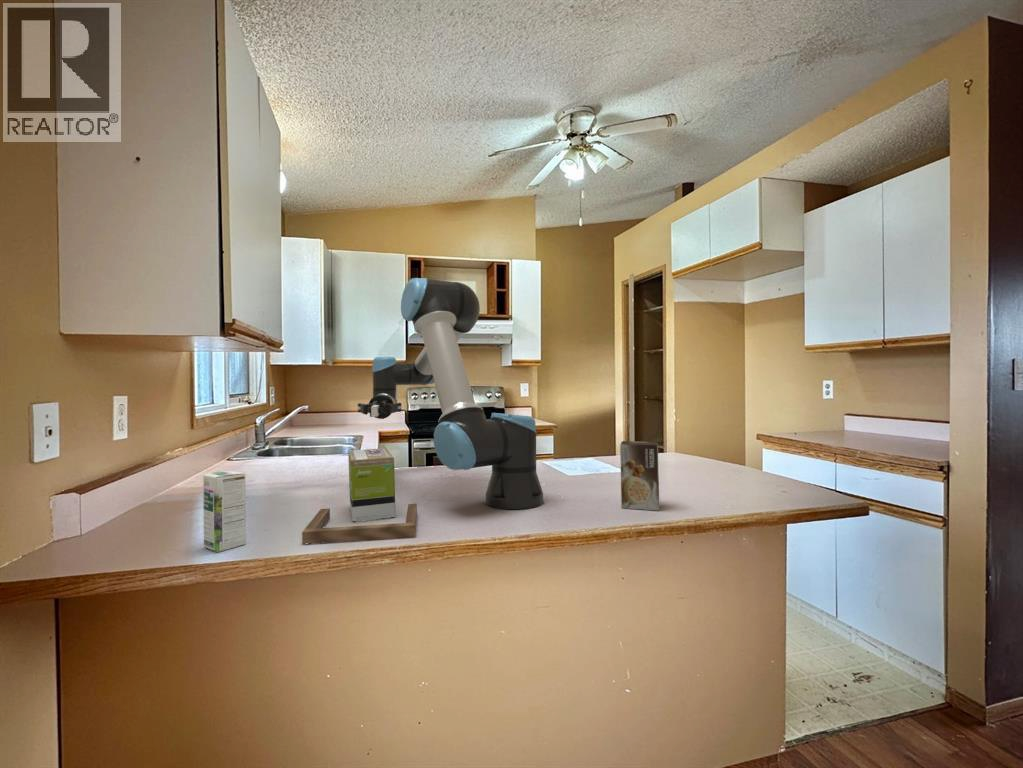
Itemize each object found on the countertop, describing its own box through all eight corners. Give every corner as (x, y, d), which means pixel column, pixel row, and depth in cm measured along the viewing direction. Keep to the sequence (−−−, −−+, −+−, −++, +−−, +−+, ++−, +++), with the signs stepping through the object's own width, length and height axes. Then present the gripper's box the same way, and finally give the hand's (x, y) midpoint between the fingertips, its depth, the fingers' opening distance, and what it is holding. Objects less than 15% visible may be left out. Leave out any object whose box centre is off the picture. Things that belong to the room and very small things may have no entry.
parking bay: (416, 514, 119) (416, 503, 119) (415, 537, 101) (415, 525, 101) (320, 519, 115) (320, 508, 115) (302, 544, 98) (302, 532, 98)
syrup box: (202, 547, 97) (200, 474, 97) (233, 539, 102) (231, 469, 101) (217, 553, 94) (215, 477, 93) (248, 544, 99) (246, 471, 98)
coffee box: (660, 504, 125) (659, 441, 124) (659, 511, 119) (658, 444, 118) (623, 502, 128) (622, 440, 127) (620, 508, 122) (619, 443, 121)
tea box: (348, 507, 126) (347, 449, 126) (388, 503, 130) (387, 447, 129) (351, 523, 112) (350, 458, 112) (396, 518, 116) (395, 455, 115)
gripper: (403, 417, 155) (399, 425, 132) (360, 418, 153) (348, 426, 130) (403, 393, 155) (399, 397, 132) (360, 394, 153) (348, 397, 130)
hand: (374, 411), depth 131 cm, fingers closed
